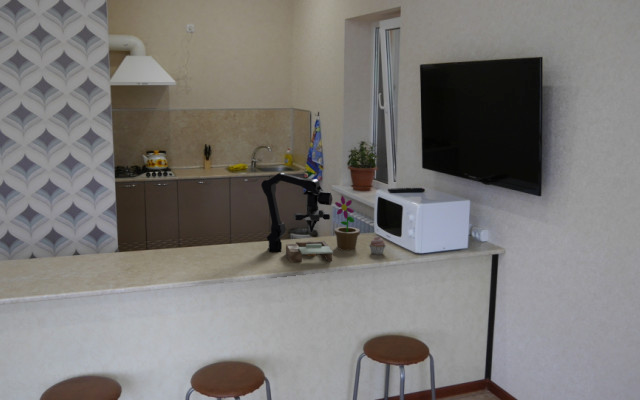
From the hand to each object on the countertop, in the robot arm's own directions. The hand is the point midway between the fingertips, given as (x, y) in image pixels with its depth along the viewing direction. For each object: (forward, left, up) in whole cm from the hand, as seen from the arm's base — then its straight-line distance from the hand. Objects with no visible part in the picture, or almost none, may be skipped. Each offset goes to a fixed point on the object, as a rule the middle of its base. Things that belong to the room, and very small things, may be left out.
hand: (311, 231), depth 311 cm
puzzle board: (-2, -2, -13) cm, 13 cm away
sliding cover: (0, -11, -7) cm, 13 cm away
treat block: (0, +1, -13) cm, 13 cm away
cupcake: (+37, -1, -13) cm, 39 cm away
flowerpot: (+23, +12, -13) cm, 29 cm away
